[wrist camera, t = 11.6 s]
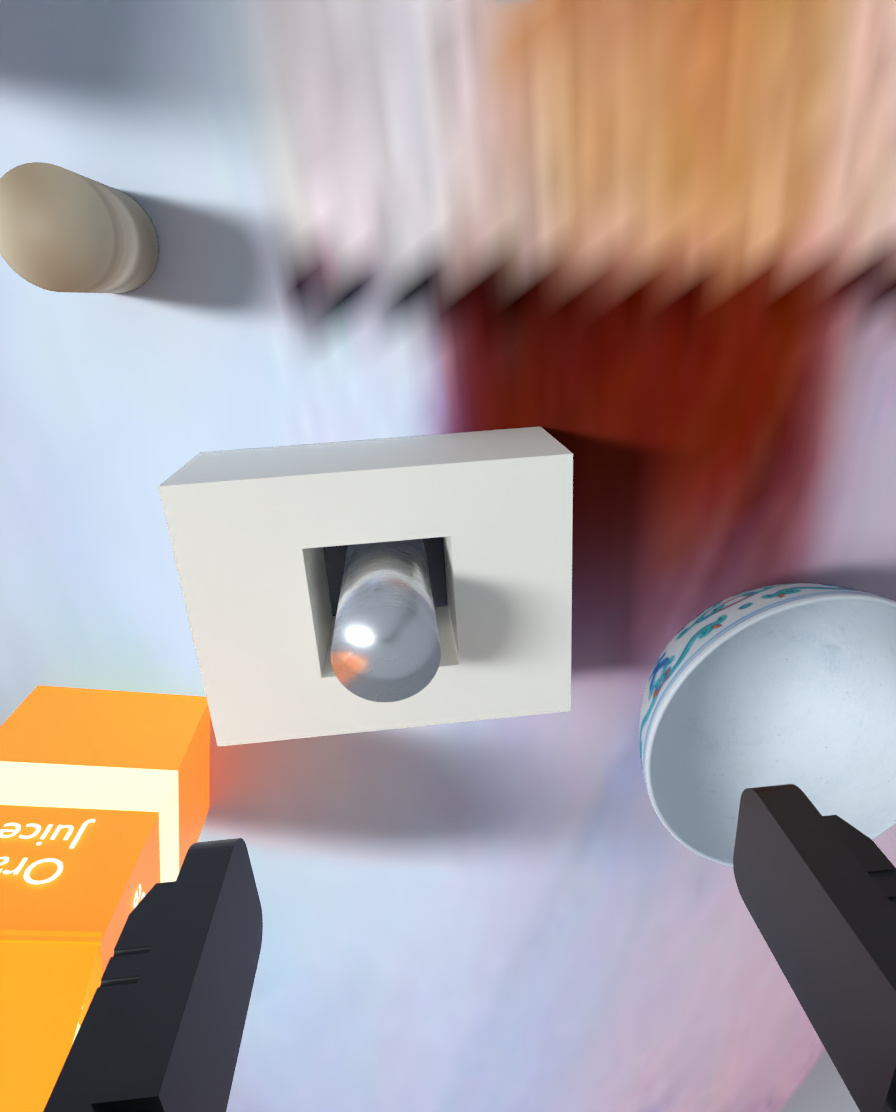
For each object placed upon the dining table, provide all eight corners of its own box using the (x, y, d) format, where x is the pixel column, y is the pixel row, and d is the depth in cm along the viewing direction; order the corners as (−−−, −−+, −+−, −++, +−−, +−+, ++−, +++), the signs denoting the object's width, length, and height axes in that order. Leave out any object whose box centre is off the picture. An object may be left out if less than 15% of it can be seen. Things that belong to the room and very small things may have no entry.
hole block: (540, 426, 32) (573, 453, 26) (542, 647, 36) (570, 710, 30) (200, 452, 31) (158, 486, 25) (244, 675, 35) (217, 746, 30)
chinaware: (840, 750, 40) (937, 848, 33) (598, 784, 40) (644, 891, 33) (873, 518, 35) (999, 574, 28) (594, 553, 34) (648, 620, 27)
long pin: (423, 515, 33) (437, 600, 23) (428, 589, 34) (444, 696, 25) (341, 522, 32) (323, 611, 23) (351, 596, 34) (337, 707, 25)
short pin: (147, 183, 27) (96, 159, 22) (168, 290, 28) (124, 288, 24) (45, 189, 26) (-28, 165, 22) (71, 296, 28) (8, 295, 23)
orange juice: (36, 683, 34) (-381, 1136, 16) (212, 695, 35) (17, 1132, 17) (47, 803, 37) (-297, 1312, 18) (210, 811, 38) (41, 1297, 20)
